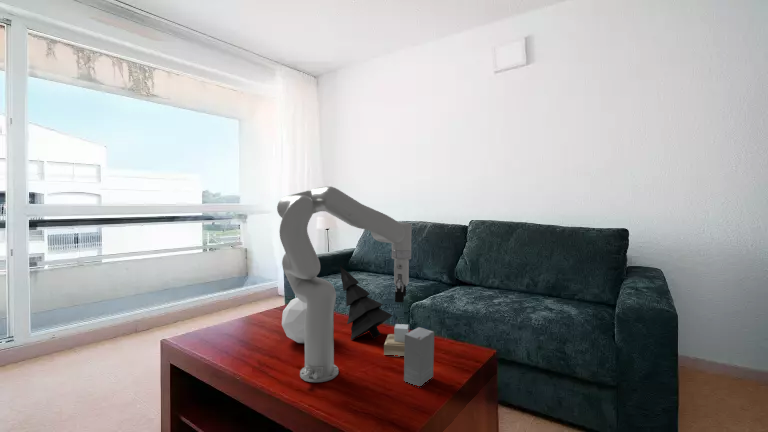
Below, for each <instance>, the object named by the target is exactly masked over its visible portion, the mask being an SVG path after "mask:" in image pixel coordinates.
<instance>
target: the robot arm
mask: <svg viewBox="0 0 768 432" xmlns="http://www.w3.org/2000/svg"><path fill="white" fill-rule="evenodd" d="M276 207H277V208H276V210H277V214H278V215H279V217H280V218H281V222H280V225H279V238H280V243H281V245H282V247H283V249H284V252H285V253H284V255H283V257H282V260H281V265H282V266H281V267H282V270H283V272H284V274H285V276H286V279H287V281H288V282H289V285H290V287H291V289H292V292H293V293H294V295H295V296H296V297H295V298H298V299H299V300H300V301H302V302H304V303H306V304H307V309H306V314H305V321H304V329H305V343H304V367H302V368H301V369H300V370H299V377H300V379H302V380H303V381H305V382H309V383H323V382H328V381H331V380H333V379H335V378H337V376H338V375H339V367H338V366H337V365H336V364H335V349H334V348H335V341H334V340H335V339H334V338H335V337H334V336H335V335H334V334H335V333H334V330H335V329H334V327H335V326H334V324H335V322H334V317H335V306H336V300H337V293H336V289H335V287H334V285H333V284H332V283H331V282H330V281H328V280H327V279H324V278H321V277H318V275H319V274H320V272H321V262H320V259H319V256H318V255H317V254H316V250H315V248H314V246H313V244H312V242H311V239H310V236H309V232H308V226H309V222H310V221H311V218H312V216H313V215H314V214H317V213H320V212H326V213H328V214H330V215H331V216H333V217H335V218H337V219H339V221H343V222H344V223H346V224H348V225H349V226H351V227H354V228H357V229H360V230H366V231H369V232H370V235H371V237H372V239H374V240H375V241H377V242H380V243H390V244H391V259H392V260H394V263H393V264H394V265H393V267H394V268H393V271H394V272H393V275H394V277H393V278H394V279H393V281H394V282H393V283H394V285H395V291H394V302H395V303H404V297H405V298H406V297H407V286H408V285H409V283H410V277H409V276H410V275H409V273H410V272H409V271H410V270H409V269H410V268H409V266H410V262H409V260H411V259H412V234H413V233H412V224H411V223H409V222H399V221H397V220H396V219H394V218H393V217H391V216H390V215H387V214H385V213H383V212H382V211H381V212H380V211H378V210H376V209H374V208H371V207H369V206H368V205H365V204H363V203H361V202H359V201H358V200H357V199H354V198H352V197H351V196H350V195H348V194H346V193H345V192H343V191H341V189H338V188H336V187H333V186H322V187H316V188H311V189H309V190H305V191H302V192H297V193H293V194H289V195H286V196H283V197H282V198H281V199H280V200H279V201H278V203H277V206H276Z"/></svg>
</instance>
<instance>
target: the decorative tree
mask: <svg viewBox="0 0 768 432" xmlns="http://www.w3.org/2000/svg"><path fill="white" fill-rule="evenodd" d="M339 268H340V279H341V283H342V290H343V292H345V297H346V299H345V300H346V302H345V303H346V307H349V309H348V319H347V323H346V325H349V324H351V329H350V330H351V335H350V341H352V340H355V339H357V338H359V337H361V336H363V335H364V333H365V334H367V333H370V335H371V337H372V339H373V340H374V339H376V338H377V337H379V336H382V335H381V332H380V330H379V329H378V327H379V326H380V325H382V324H383V323H384V322H386V321H387V320H390V318H391V317H393V314H391V313H389V312H387V311H385V310H383V309H382V308H381V307H382V306H383V305H384V304H383V303H381V302H379V301H377V300H375V299H374V298H371V297H369V295H370V292H368V291H367V290H366V289H365V288H363V287H362V286H360V285H358V284H359V283H360V281H358V280H357V279H356V278H355V277H354V276H353V275H352V274H351V273H350V272H348V271H347V270H346V269H345V268H344V266H342V265H341V264H339ZM368 331H369V332H368ZM366 332H367V333H366ZM358 336H359V337H358ZM356 337H357V338H356ZM354 338H355V339H354Z"/></svg>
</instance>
